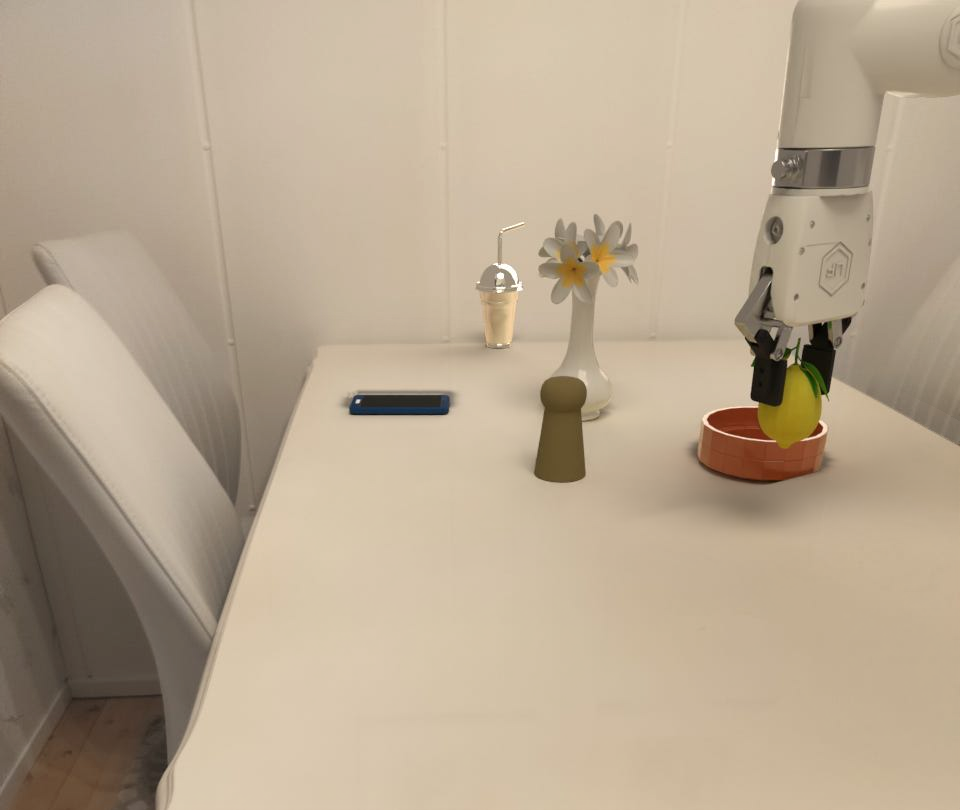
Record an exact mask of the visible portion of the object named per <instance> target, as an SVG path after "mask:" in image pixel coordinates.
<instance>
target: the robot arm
mask: <svg viewBox="0 0 960 810" xmlns="http://www.w3.org/2000/svg"><path fill="white" fill-rule="evenodd" d="M786 54H787V55H786V63H785V71H784V72H785V73H784V80H783V89H782V99H781V107H780V116H779V122H778V131H777V137H776V138H777V140H776V149H775V156H774V162H773V163H772V165H771V169H770V173H771V176H772V179H771V189H770V193H769V194H767V199H766V202H765V205H764V207H763V211H762V216H761V220H760V223H759V228H758V233H757V236H756V241H755V247H754V252H753V258H752V264H751V269H750V277H749V285H748V294H747V295H748V297H747V299H746V301H745V302H744V304H743V305H742V307H741V308H740V310H739V311H738V313H737V315H736V317H735V318H734V321H733V322H734V326H735V327H736V329H738V331H739V332H740V333H741V335H742V336H743V337H744V341H745V342H746V343H747V345H748V346H749V348H750V349H749V353H750V355H751V356H753V357H754V359H755V362H754V367H753V371H752V380H751V387H750V396H749V397H750V400H751V401H753V402H757V403H758V404H759V403H763V404H766V405H770V406H773V407H776V406H780V405H781V403H782V400H783V393H784V386H785V379H786V372H787V368H788V362H789V361H788V360H789V359H787V360H784V359H782V357H783V355H784V352H785V350H786V347H787V348H788V343H789V340H790V338H791V335H792V333H793V329H794V328H798V327H804V326H807V331H808V342H809V343H805V344H803V347H802V352H801V358H800V359H801V361H803V362H807V363H810V364H812V365H813V366H814V367H815V368H816V369H817V370H818V371H819V373H820V375H821V377H822V378H823V381H824V384H825V387H826V390H827V395H828V394H830V391H831V384H832V378H833V372H834V366H835V360H836V354H837V350H838V349H840V347H841V346H842V344H843V341H844V338H843V335H844V334H845V333H846V331H847V330H848V329H849V328H850V326H851V324H852V320H853V319H854V318H855V317H856V316H857V314H858V313H859V312H860V310H862V308H863V306H864V305H865V298H866V293H867V292H866V291H867V287H868V286H867V285H868V278H869V271H870V264H871V263H870V262H871V254H872V253H871V252H872V243H873V233H874V232H873V230H874V229H873V227H874V195H873V190H871V189H869V188H870V184H871V183H870V182H871V177H872V172H873V165H874V159H875V154H876V153H875V152H876V146H877V145H876V144H877V139H878V133H879V127H880V123H881V116H882V110H883V105H884V98H885V94H886V93H887V94H889V95H891V96H894V97H896V98H903V99H916V98H917V99H918V98H927V99H936V98H938V99H939V98H951V97H954V96H959V95H960V0H798V1H797V2H796V4H795V6H794V9H793V12H792V17H791V22H790V30H789V38H788V47H787V53H786ZM772 329H777V331H776V333H775V337H774V338H773V336H772V335H771V331H772ZM800 366H801V367H802V368H804V369H806V367H805V366H804V365H803V364H802V363H801V362H800ZM806 370H807V369H806ZM819 387H820V385H819ZM820 391H821V396H826V395H825V393H824V392H823V390H822V388H821V387H820Z"/></svg>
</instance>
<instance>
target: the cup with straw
mask: <svg viewBox="0 0 960 810" xmlns="http://www.w3.org/2000/svg"><path fill="white" fill-rule="evenodd" d="M524 227H526V224H525V222H520V223H517V224H514V225H511V226H508V227H505V228H502V229H500V230H499V232H498V234H497V262H496V263H492V264H490V265H488V266H487V267H486V268H485V269H484V270H483V271H482V273H481V276H480V278H479V281H477V282H475V287H474V289H475V290H476V291H479V300H480V304H481V308H482V318H483V325H484V326H483V327H484V329H483V330H484V338H485V340H486V341H485V342H486V344H485V346H486V347H488V348H491V349H507V348H511V347H512V340H513V337H514V336H513V335H514V327H515V320H516V311H517V305H518V302H519V297H520V291H523V290H524V283H523V282H522V281H520V278H519V275H518V273H517V271H516V270H515V268H513V267H512V266H511V265H509V264H507V263H502V262H503V261H502V259H503V252H502V251H503V235H504V234H506V233H509V232H512V231H515V230H518V229H521V228H524Z"/></svg>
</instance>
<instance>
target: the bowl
mask: <svg viewBox="0 0 960 810" xmlns="http://www.w3.org/2000/svg"><path fill="white" fill-rule="evenodd" d="M828 433H829V426H828V425H827V424H826V423H825V422H824V421H823V420H821V419H820V420H819V423H818V425H817V427H816V428H815V430H814V431H813V433H812V434H811V435H810V436H809V437H807V438H805V439H803V440H801V441H798V442H795V443H793V444H792V445H791V446H790V447H789V448H787V449H783V448H781V447H780V446H779V445H778V443H777V442H776V441H775V440H773V439H771V438H770V437H768V436H767V435H766V434H765V433H764V432H763V430H762V429H761V427H760V424H759V420H758V406H756V405H755V406H754V405H753V406H750V405H746V406H745V405H742V406H730V407H722V408H718V409H714V410H710V411H709V412H707V413H705V414H704V415H703V417H702V418H701V421H700V429H699V437H698V445H697V453H696V455H697V458H698V460H699V462H700V463H702V464H703V465H704V466H706V467H707V468H710V469H712V470H714V471H717V472H719V473H723V474H725V475H728V476H731V477H735V478H740V479H745V480H751V481H761V482H779V481H780V482H781V481H787V480H790V479H796V478H798V477H802V476H806V475H811V474H813V473H818V472H819V471H820V470H821V468H822V463H823V458H824V453H825V448H826V443H827V438H828Z"/></svg>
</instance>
